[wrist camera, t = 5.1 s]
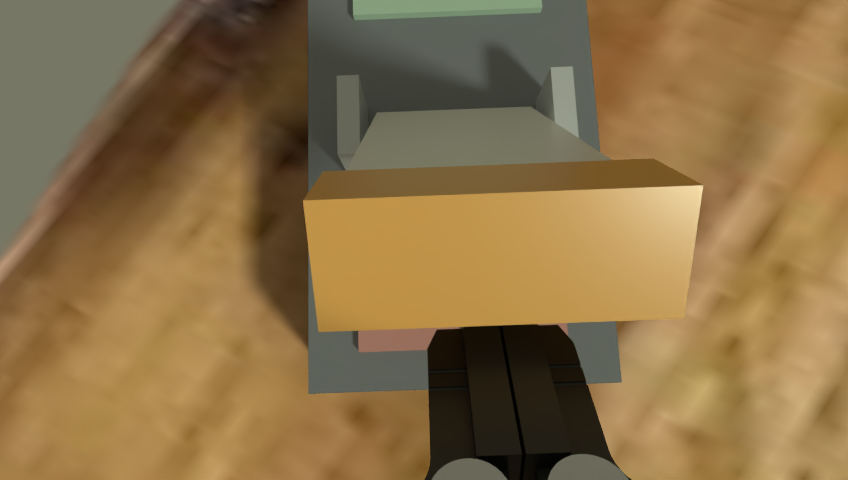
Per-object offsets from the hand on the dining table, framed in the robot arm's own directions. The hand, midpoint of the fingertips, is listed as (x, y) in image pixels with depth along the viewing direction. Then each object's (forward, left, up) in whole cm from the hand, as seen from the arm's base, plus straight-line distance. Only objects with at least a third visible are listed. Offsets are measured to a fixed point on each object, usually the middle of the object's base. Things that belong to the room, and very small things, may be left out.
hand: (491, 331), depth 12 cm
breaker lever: (-5, -6, -9) cm, 12 cm away
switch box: (-5, -6, -16) cm, 18 cm away
